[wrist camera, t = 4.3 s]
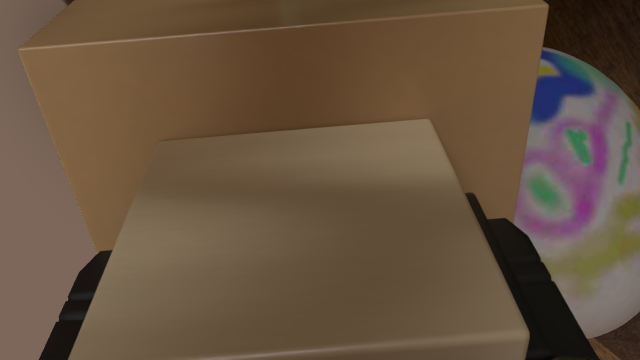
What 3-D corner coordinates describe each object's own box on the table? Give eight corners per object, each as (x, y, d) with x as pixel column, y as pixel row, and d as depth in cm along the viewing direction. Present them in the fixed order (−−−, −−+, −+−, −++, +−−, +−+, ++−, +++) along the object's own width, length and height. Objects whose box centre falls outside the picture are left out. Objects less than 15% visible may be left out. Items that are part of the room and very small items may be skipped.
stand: (228, 60, 29) (147, 383, 13) (199, -107, 25) (14, 49, 8) (376, 48, 29) (493, 354, 13) (375, -122, 25) (551, 3, 8)
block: (206, 326, 12) (165, 577, 8) (155, 139, 9) (57, 373, 5) (421, 308, 12) (486, 550, 8) (430, 115, 9) (535, 333, 5)
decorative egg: (565, -23, 28) (794, 110, 15) (597, 163, 34) (776, 364, 22) (342, 72, 30) (381, 256, 17) (411, 229, 36) (476, 446, 24)
